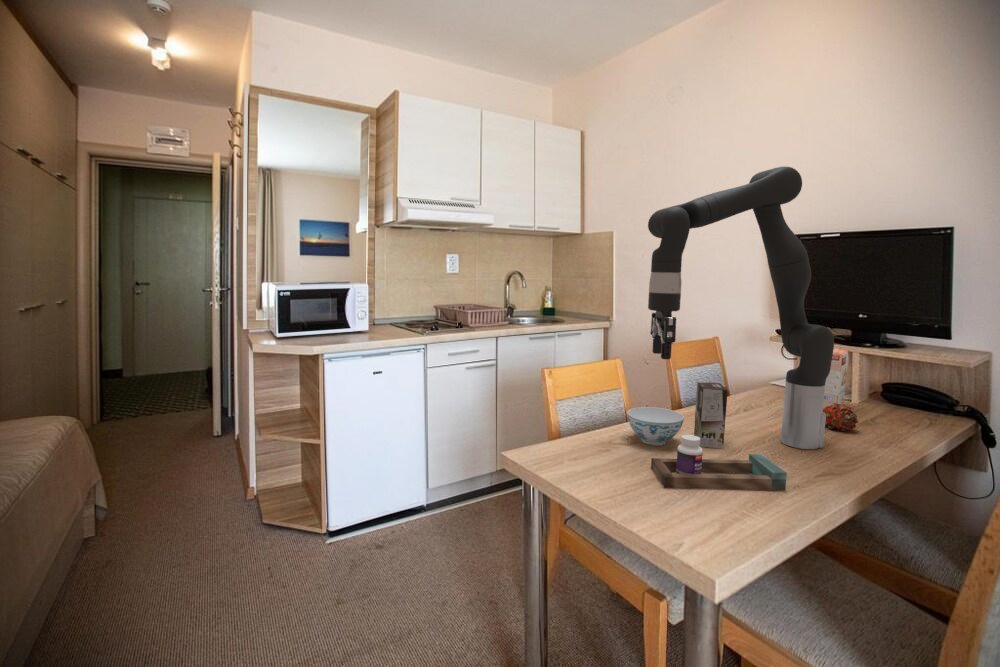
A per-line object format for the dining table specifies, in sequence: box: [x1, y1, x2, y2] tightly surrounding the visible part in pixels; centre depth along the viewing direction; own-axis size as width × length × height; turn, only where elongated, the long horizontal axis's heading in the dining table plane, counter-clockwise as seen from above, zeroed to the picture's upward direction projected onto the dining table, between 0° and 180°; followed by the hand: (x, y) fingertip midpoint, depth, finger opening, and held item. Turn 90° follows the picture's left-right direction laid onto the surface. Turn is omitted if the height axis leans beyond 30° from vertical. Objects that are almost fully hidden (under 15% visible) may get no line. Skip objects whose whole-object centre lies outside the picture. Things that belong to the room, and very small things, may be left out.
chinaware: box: [626, 406, 685, 446], centre depth 140 cm, size 15×15×8 cm
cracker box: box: [823, 348, 850, 408], centre depth 172 cm, size 14×6×21 cm, turn 138°
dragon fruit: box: [823, 403, 860, 432], centre depth 153 cm, size 8×8×12 cm
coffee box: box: [693, 381, 729, 449], centre depth 139 cm, size 9×6×16 cm
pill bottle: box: [675, 434, 704, 474], centre depth 115 cm, size 5×5×10 cm
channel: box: [650, 453, 788, 491], centre depth 115 cm, size 26×11×4 cm, turn 89°
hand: (661, 356), depth 126 cm, fingers open, 8 cm apart
